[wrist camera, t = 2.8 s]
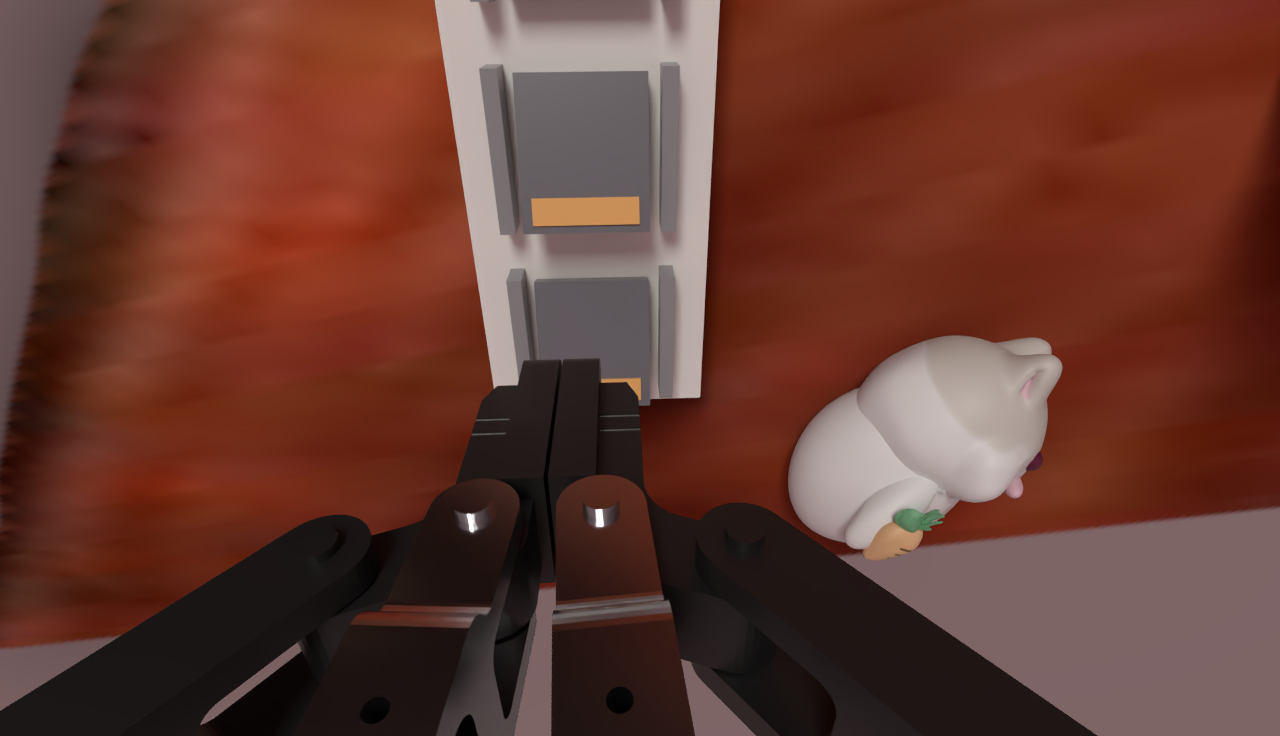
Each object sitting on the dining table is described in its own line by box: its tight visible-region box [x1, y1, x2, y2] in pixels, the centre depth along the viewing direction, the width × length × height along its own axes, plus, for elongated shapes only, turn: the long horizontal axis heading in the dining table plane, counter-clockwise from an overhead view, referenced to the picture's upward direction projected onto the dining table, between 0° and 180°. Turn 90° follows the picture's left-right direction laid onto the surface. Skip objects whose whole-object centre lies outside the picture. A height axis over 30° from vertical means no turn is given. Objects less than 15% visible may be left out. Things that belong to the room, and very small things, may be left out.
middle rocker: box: [512, 71, 650, 234], centre depth 24 cm, size 6×5×1 cm
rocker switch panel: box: [435, 0, 720, 399], centre depth 25 cm, size 24×10×4 cm, turn 0°
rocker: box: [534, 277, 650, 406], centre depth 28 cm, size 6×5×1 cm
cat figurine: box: [788, 336, 1062, 560], centre depth 32 cm, size 10×8×15 cm
